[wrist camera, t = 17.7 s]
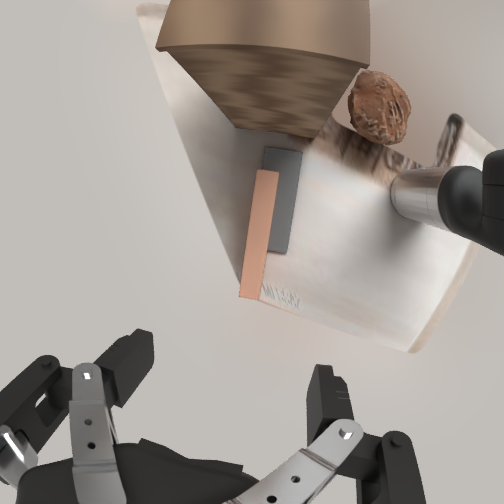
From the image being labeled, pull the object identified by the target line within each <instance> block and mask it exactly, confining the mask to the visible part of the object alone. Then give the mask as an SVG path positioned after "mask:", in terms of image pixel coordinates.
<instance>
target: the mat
mask: <svg viewBox="0 0 504 504" xmlns="http://www.w3.org/2000/svg"><path fill="white" fill-rule="evenodd" d="M302 154H303V152H297V151H291V150H285V149H278V148H271V147H265V152H264V159H263V166H262V170H267V171H274V172H279V178H278V185H277V191H276V198H275V204H274V210H273V217H272V223H271V229H270V236H269V242H268V248H267V250H270V251H276V252H282V253H287V248H288V242H289V236H290V231H291V225H292V219H293V213H294V206H295V200H296V194H297V187H298V181H299V174H300V167H301V161H302Z"/></svg>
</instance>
